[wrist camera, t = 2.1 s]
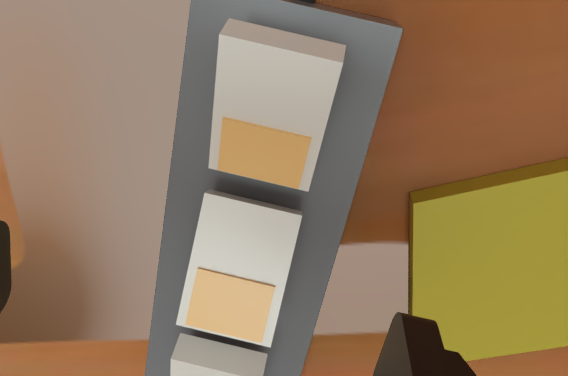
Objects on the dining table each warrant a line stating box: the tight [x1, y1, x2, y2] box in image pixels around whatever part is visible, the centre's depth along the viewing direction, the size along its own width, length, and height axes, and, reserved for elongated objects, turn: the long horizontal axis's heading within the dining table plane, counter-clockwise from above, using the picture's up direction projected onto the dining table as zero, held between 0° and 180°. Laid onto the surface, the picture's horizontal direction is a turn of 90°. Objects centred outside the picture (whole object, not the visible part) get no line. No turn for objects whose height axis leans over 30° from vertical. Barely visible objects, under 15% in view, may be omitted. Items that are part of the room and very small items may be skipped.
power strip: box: [145, 0, 403, 376], centre depth 28 cm, size 34×10×6 cm, turn 168°
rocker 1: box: [208, 18, 346, 192], centre depth 22 cm, size 7×5×2 cm
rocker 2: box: [176, 189, 302, 348], centre depth 26 cm, size 7×5×2 cm
